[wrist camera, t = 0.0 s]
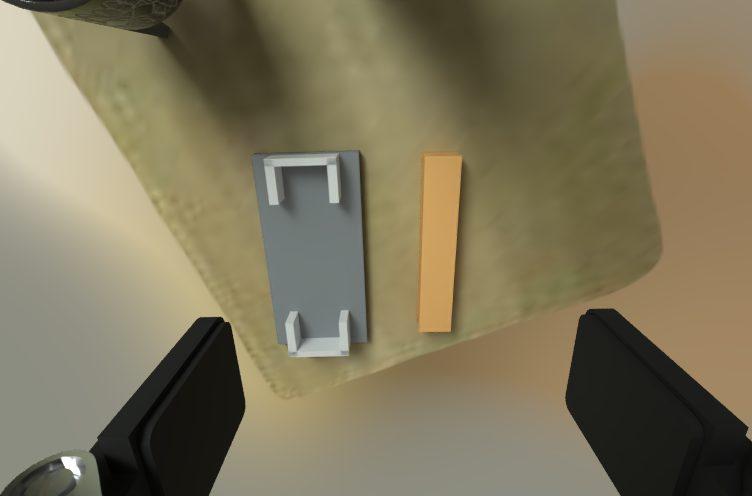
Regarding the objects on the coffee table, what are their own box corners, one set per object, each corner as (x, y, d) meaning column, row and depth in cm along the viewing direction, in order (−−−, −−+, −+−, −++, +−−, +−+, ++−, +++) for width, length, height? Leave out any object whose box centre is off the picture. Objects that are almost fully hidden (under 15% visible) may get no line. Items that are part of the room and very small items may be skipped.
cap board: (255, 153, 45) (242, 158, 40) (359, 150, 44) (356, 155, 40) (280, 337, 53) (272, 358, 49) (367, 336, 53) (366, 356, 49)
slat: (421, 152, 45) (424, 156, 41) (456, 151, 45) (462, 155, 41) (416, 317, 52) (419, 331, 49) (446, 317, 52) (450, 331, 49)
